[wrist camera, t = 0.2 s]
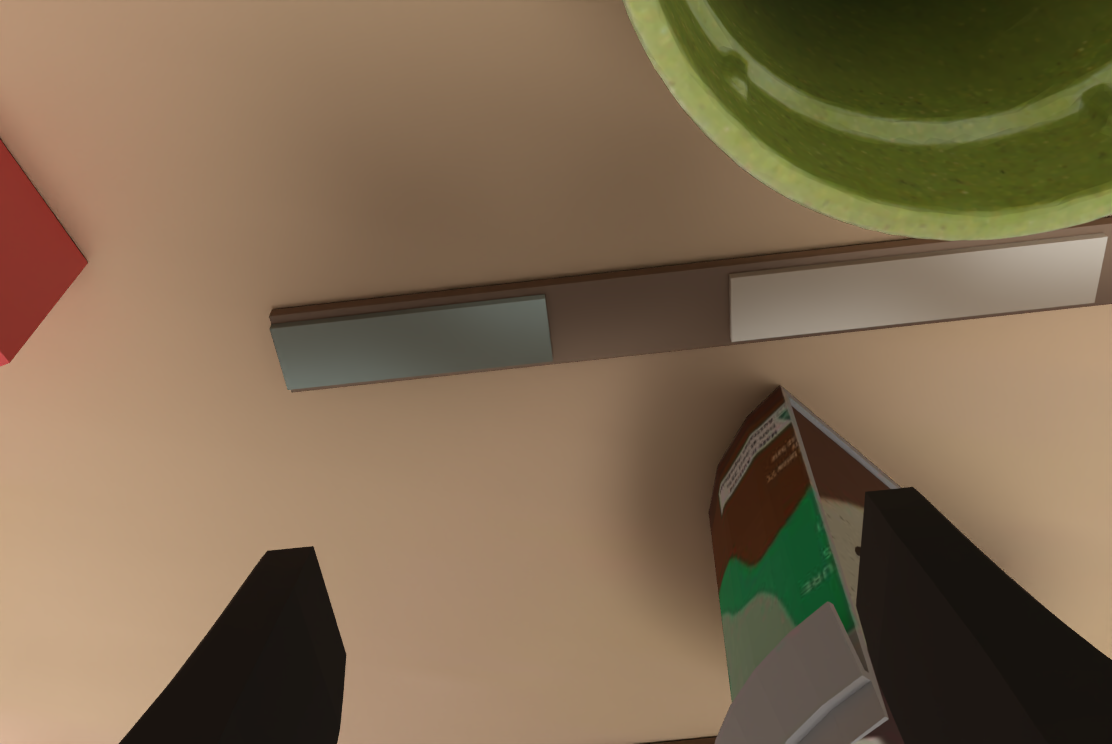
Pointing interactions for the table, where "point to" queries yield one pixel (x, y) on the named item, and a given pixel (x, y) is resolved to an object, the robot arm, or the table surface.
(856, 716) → the food container
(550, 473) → the table surface
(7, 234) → the red die
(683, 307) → the game lane
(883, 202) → the plant pot
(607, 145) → the table surface
